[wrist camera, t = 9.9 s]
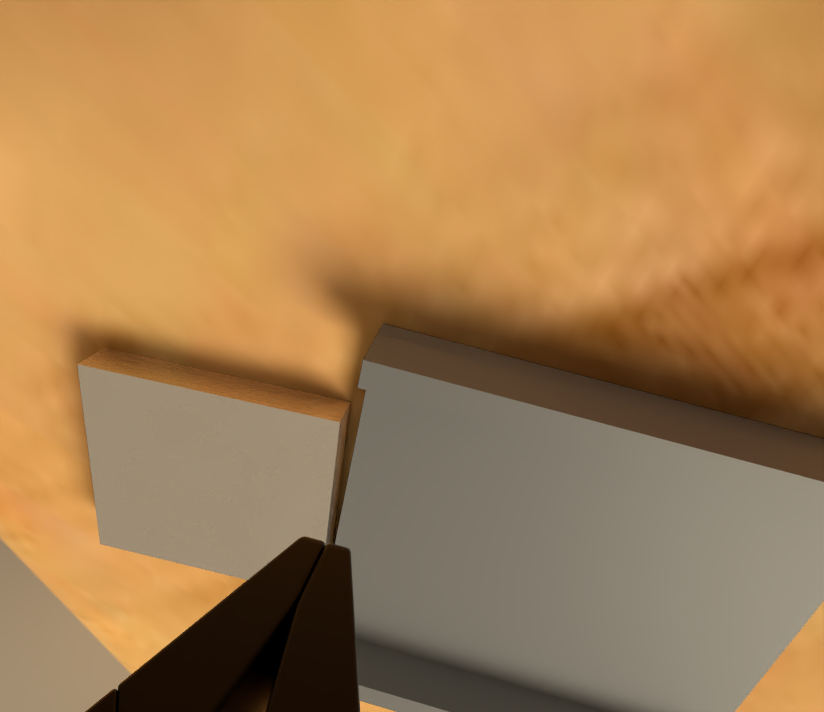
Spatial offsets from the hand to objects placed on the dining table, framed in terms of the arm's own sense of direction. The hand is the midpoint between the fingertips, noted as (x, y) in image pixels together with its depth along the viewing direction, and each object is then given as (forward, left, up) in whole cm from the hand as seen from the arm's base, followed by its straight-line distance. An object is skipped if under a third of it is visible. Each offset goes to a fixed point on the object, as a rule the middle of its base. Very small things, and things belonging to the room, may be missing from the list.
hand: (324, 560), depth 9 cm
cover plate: (+7, +9, -12) cm, 16 cm away
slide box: (-8, +9, -11) cm, 16 cm away
